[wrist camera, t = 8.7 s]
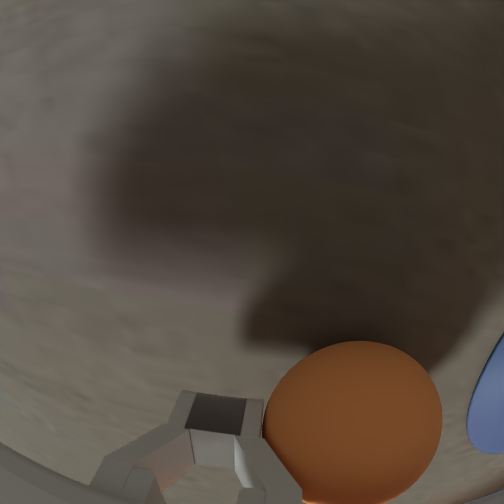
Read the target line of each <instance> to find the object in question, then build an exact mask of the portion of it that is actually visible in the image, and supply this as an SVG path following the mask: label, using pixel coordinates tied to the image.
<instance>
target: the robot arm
mask: <svg viewBox="0 0 504 504" xmlns="http://www.w3.org/2000/svg"><path fill="white" fill-rule="evenodd" d="M263 404H264V400H263V399H249V398H237V397H227V396H218V395H211V394H205V393H199V392H198V393H196V392H191V391H185V390H182V391H181V393H180V394H179V396H178V399H177V401H176V403H175V406H174V408H173V410H172V413H171V415H170V417H169V420H168V422H167V424H166V425H164V424H161V425H160V426H158V427H156V428H155V429H153V430H151V431H149V432H148V433H146V434H144V435H143V436H141V437H139V438H137V439H136V440H134V441H132V442H130V443H129V444H127V445H125V446H123V447H121V448H120V449H118V450H116V451H114V452H112V453H110V454H108V455H107V456H105V457H104V459H103V461H102V463H101V465H100V466H99V468H98V470H97V472H96V474H95V476H94V477H93V479H92V481H91V483H90V485H89V486H88V485H85V484H83V483H80V482H78V481H75V480H73V479H71V478H68V477H66V476H64V475H62V474H59V473H57V472H55V471H53V470H51V469H49V468H47V467H45V466H43V465H41V464H39V463H37V462H35V461H33V460H31V459H29V458H27V457H25V456H23V455H22V454H20V453H18V452H16V451H15V450H13V449H11V448H9V447H8V446H6V445H4V444H3V443H1V442H0V504H166V503H165V500H164V498H163V495H162V492H163V491H164V490H166V489H167V488H168V487H169V486H171V485H172V484H173V483H174V482H175V481H177V480H178V479H179V478H180V477H181V476H183V475H184V474H185V473H186V472H187V471H189V470H190V469H191V468H192V467H193V466H194V465H195V464H200V465H207V466H215V467H221V468H228V469H235V472H236V474H237V476H238V478H239V479H240V481H241V483H242V485H243V487H244V488H243V489H241V490H239V495H238V500H237V504H302V489H301V487H300V486H299V485H298V484H297V482H296V481H295V480H294V478H293V477H292V476H291V474H290V473H289V472H288V470H287V469H286V468H285V466H284V465H283V464H282V462H281V461H280V460H279V458H278V457H277V456H276V454H275V453H274V451H273V450H272V449H271V447H270V446H269V444H268V443H267V442H266V440H265V439H264V438H261V429H262V417H263ZM463 504H504V489H503V490H501V491H498V492H496V493H493V494H490V495H487V496H484V497H482V498H479V499H476V500H473V501H469V502H466V503H463Z"/></svg>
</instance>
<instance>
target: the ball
mask: <svg viewBox="0 0 504 504" xmlns="http://www.w3.org/2000/svg"><path fill="white" fill-rule="evenodd" d="M441 429H442V407H441V403H440V399H439V395H438V392H437V390H436V387H435V385H434V383H433V381H432V380H431V378H430V376H429V375H428V373H427V372H426V371H425V370H424V368H423V367H422V366H421V365H420V364H419V363H418V362H417V361H416V360H414V359H413V358H412V357H411V356H409V355H408V354H406V353H404V352H403V351H401V350H399V349H397V348H394V347H392V346H389V345H386V344H382V343H378V342H372V341H348V342H342V343H337V344H333V345H330V346H327V347H324V348H322V349H320V350H318V351H316V352H314V353H312V354H310V355H309V356H307V357H305V358H304V359H302V360H301V361H300V362H298V363H297V364H296V365H295V366H294V367H292V368H291V369H290V370H289V371H288V372H287V374H286V375H285V376H284V377H283V378H282V379H281V381H280V382H279V383H278V385H277V387H276V388H275V390H274V391H273V393H272V395H271V397H270V399H269V401H268V404H267V407H266V410H265V414H264V419H263V425H262V438H264V439H265V440H266V442H267V443H268V444H269V446H270V447H271V449H272V450H273V451H274V453H275V454H276V456H277V457H278V458H279V460H280V461H281V462H282V464H283V465H284V466H285V468H286V469H287V470H288V472H289V473H290V474H291V476H292V477H293V478H294V480H295V481H296V482H297V484H298V485H299V486H300V487H301V489H302V501H303V502H305V503H307V504H384V503H386V502H388V501H390V500H392V499H394V498H396V497H397V496H399V495H400V494H402V493H403V492H405V491H406V490H407V489H408V488H409V487H410V486H412V485H413V484H414V483H415V482H416V481H417V480H418V479H419V477H420V476H421V475H422V474H423V473H424V471H425V470H426V469H427V467H428V465H429V464H430V462H431V460H432V458H433V456H434V454H435V452H436V450H437V447H438V444H439V440H440V436H441Z"/></svg>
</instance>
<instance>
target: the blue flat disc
mask: <svg viewBox="0 0 504 504" xmlns="http://www.w3.org/2000/svg"><path fill="white" fill-rule="evenodd" d="M467 432H468V436H469V438H470V440H471V443H472V444H473V445H474V446H475V448H476V449H478V450H480V451H482V452H485V453H489V454H500V453H504V334H503V335H502V337H501V339H500V340H499V342H498V343H497V345H496V347H495V349H494V350H493V352H492V354H491V356H490V357H489V359H488V361H487V363H486V365H485V367H484V369H483V371H482V373H481V375H480V377H479V379H478V382H477V384H476V387H475V389H474V392H473V395H472V398H471V401H470V404H469V408H468V414H467Z"/></svg>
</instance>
